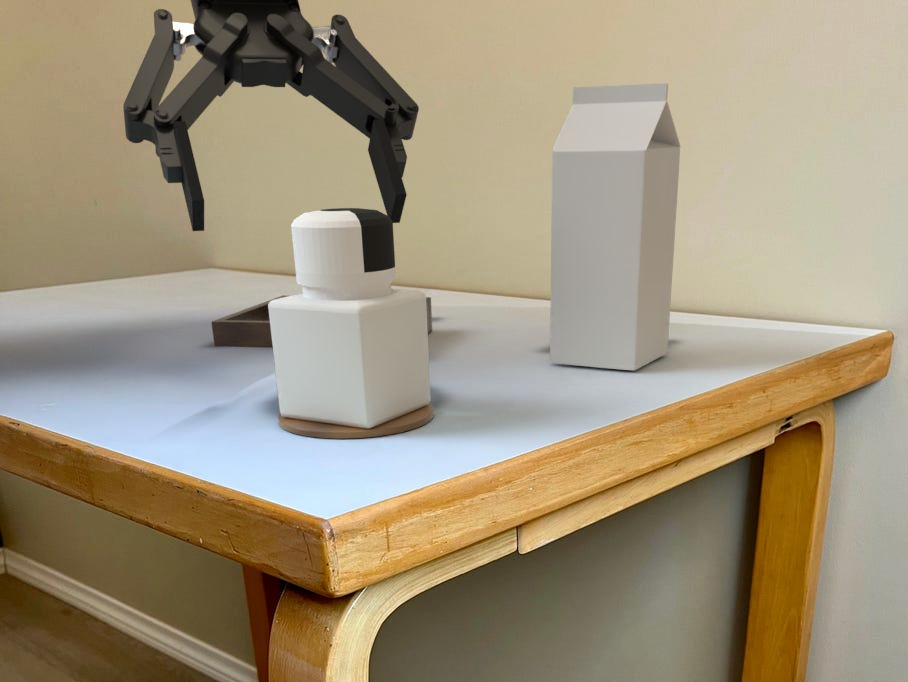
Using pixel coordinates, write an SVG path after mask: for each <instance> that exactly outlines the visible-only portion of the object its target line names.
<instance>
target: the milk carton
mask: <svg viewBox="0 0 908 682" xmlns="http://www.w3.org/2000/svg"><path fill="white" fill-rule="evenodd" d="M668 91H669V83H667V82H666V83H665V82H664V83H645V84H622V85H599V86H598V85H597V86H579V87H578V86H576V87H575V86H574V87H573V88H572V105H571V107H570V110H569V112H568V113H567V117H566V118H565V120H564V123H563V125H562V128H561V130H560V132H559V134H558V137H557V139H556V140H555V143H554V145H553V147H552V150H551V228H550V230H551V231H550V232H551V236H550V315H549V316H550V317H549V318H550V325H549V340H550V341H549V362H550V364H556V365H568V366H578V367H579V366H580V367H589V368H598V369H599V368H600V369H611V370H623V371H636V370H638V369H641V368H642V367H644V366H646V365H648V364H649V363H652V362H653V361H655V360H657V359H659V358H661V357H663V356H664V355H666V354H667V353H668V351H669V350H668V349H669V335H670V334H669V333H670V318H671V317H670V316H671V304H672V303H671V301H672V286H673V272H674V271H673V270H674V257H675V256H674V253H675V240H676V239H675V238H676V223H677V208H678V207H677V206H678V194H679V193H678V190H679V178H680V177H679V174H680V158H681V143H680V140H679V137H678V133H677V129H676V127H675V122H674V120H673V116H672V113H671V112H672V111H671V108H670V105H669V103H668Z"/></svg>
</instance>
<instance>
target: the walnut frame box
mask: <svg viewBox="0 0 908 682" xmlns="http://www.w3.org/2000/svg"><path fill="white" fill-rule="evenodd" d="M288 296H289V295H281V296H277V297H275V298H271V299H269V300H266V301H264V302H261V303H258V304H256V305H253V306H251V307H247V308H245V309H242V310H239V311H237V312H233V313H231V314H228V315H226V316H223V317H220V318H217V319H215V320H213V321H212V320H211V330H212V337H213V345H214V347H225V348H268V349H273V346H272V337H271V329H270V320H269V311H268V304H269V302H270V301H272V300H275V299H279V298H283V297H288ZM426 308H427V331H428V334H430V333H431V332H432V331H433V315H432V297H430V296H426Z"/></svg>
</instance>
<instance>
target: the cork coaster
mask: <svg viewBox="0 0 908 682" xmlns="http://www.w3.org/2000/svg"><path fill="white" fill-rule="evenodd" d="M434 410H435V409H434V407H433V405H432V404H431V403H429V404H428V405H426V406H424V407H422V408H419V409H417V410H414V411H412V412H409V413H407V414H404V415H402V416H400V417H397V418H395V419H392V420H390V421H387V422H385V423H382V424H380V425H378V426H375V427H373V428H370V429H365V428H358V427H350V426H343V425H336V424H329V423H322V422H314V421H307V420H300V419H293V418H285V417H283V416H282V415H281V413H280V412H279V413H278V415H277V420H278V425H279V426H280V428H282V429H283V430H284V431H286V432H289V433H292V434H295V435H300V436H304V437H310V438H320V439H339V440H342V439H345V440H346V439H365V438H377V437H382V436H384V437H385V436H389V435H395V434H399V433H404V432H409V431H411V430H414V429H418V428H420V427H423V426H424V425H426V424H428V423H430V422H431V421H432V420H433V418H434V416H435V411H434Z"/></svg>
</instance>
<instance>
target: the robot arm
mask: <svg viewBox="0 0 908 682" xmlns="http://www.w3.org/2000/svg"><path fill="white" fill-rule="evenodd" d="M190 3H191V9H192V12H193V16H194V22H193V23H191V22H181V21H173V14H172V13H171V12H170V11H169V10H167V9H164V8H158V9H156V10H155V11H154V12H153V25H154V27H153V28H154V35H153V36H152V40H151V42H150V44H149V45H148V49H147V50H146V53H145V55H144V58H143V60H142V61H141V64H140V66H139V69H138V71H137V73H136V75H135V78H134V80H133V82H132V84H131V86H130V89H129V91H128V93H127V95H126V97H125V99H124V103H123V104H122V107H123V119H124V131H125V138H126V139H127V140H128V141H129V142H131V143H132V144H140V143H142V142H144V141H148V142H150V143H152V144H153V145H154V147H155V154H156V156H157V157H158V158H159V162H160V167H161V171H162V175H163V179H164V180H165V182H167V183H168V184H181V186H182V192H183V195H184V200H185V203H186V208H187V213H188V218H189V221H190V225H191V230H192V232H204V231H205V199H204V194H203V190H202V185H201V181H200V177H199V173H198V168H197V164H196V159H195V157H194V152H193V148H192V144H191V140H190V136H189V131H188V130H189V129H190V128H191V127H192V126H193V124H194V123H196V121H197V120H198V119H199V118H200V116H201V115H202V114H203V113H204V112H205V111H206V109H208V107H209V106H210V105H211V104H212V102H213V101H214V100H215V99H216V98H217V96H218V97H220V98H221V97H222V96H223V95H224V94H225V93H226V91H228V90H229V88H230V87H231V86H232V85H233V84H234V82H235V83H238V84H240V85H241V88H256V87H259V86H266V87H271V88H286V84H287V85H288V86H290V87H291V88H292V89H293V90H295V91H296V92H297V93H299V94H300V95H302V96H303V97H306V98H308V97H313V98H314V99H315V100H316V101H318V102H319V103H321V104H322V105H324V107H326V108H328V110H330V111H331V112H333V113H334V114H335V115H337V116H338V117H340V118H341V119H343V121H345V122H347V123H348V124H349V125H351V127H353V128H354V129H356V130H357V131H359V132H360V133H361V134H363V135H364V136H365V137H367V138H368V139H369V142H368V147H367V152H368V156H369V159H370V162H371V165H372V168H373V172H374V176H375V179H376V182H377V186H378V189H379V192H380V193H379V194H380V196H381V199H382V202H383V206H384V209H385V213H386V215H387V216H389V218H390V219H391V220H392V222H393V224H400V223H401V219H402V215H403V211H404V207H405V203H406V198H407V195H408V194H407V191H406V187H405V185H404V181H403V177H404V173H405V168H406V165H407V160H408V156H407V151H406V149H405V145H404V142H403V141H410V140H411V139H412V138H413V136H414V131H415V126H416V122H417V118H418V115H419V111H420V107H419V105H418V103H417V102H416V101H415V100H414V99H413V98H412V97H411V96H410V95H409V94H408V93H407V92H406V90H405V89H403V88H402V86H401V85H400V84H399V83H398V82H397V81H396V80H395V79H394V77H392V76H391V74H390V73H389V72H388V71H387V70H386V69H385V67H384V66H382V64H381V63H380V62H379V60H377V59H375V58H376V57H374V56H373V54H372V53H370V52H369V51H368V50H367V48H366V47H365V46H364V45H363V44H362V43H361V42H360V41H359V39H358V38H357V37H356V35H355V32H354V31H353V29H352V27H351V24H350V23H349V20H348V19H347V17H346V16H344V15H342V14H334V15H333V16H331V21H330V25H322V26H321V25H320V26H319V25H318V26H312V24H311V23H310V22H309V21H308V20H307V19H305V17H304V15H303V14H302V11H301V7H300V2H299V0H190ZM192 46H193V47H194V48H195V50H196V51H197V52H198V53H199V54H200V55H201V58H199V60H198V61H197V62H196V63H195V64H194V65H193V66H192V68H191V69H190V70H189V71H188V72H187V73H186V75H184V76H183V78H182V79H181V80H180V81H179V83H177V84H176V86H175V87H174V88H173V89H172V90H171V91H170V92H169V94H167V96H166V97H165V98H164V99H163V100H162V98H163V96H164V94H165V91H166V89H167V87H168V85H169V82H170V80H171V78H172V75H173V72H174V70H175V61H176V62H179V61H181V60H182V56H183V55H184V54H185V53H186V51H187V49H188V48H189V47H192ZM324 55H325V56H326V58H325V56H324ZM301 69H302V72H301Z"/></svg>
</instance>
